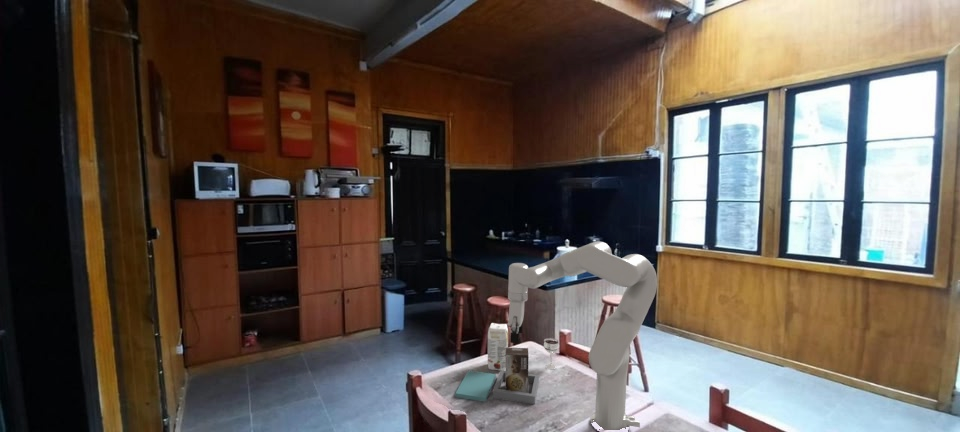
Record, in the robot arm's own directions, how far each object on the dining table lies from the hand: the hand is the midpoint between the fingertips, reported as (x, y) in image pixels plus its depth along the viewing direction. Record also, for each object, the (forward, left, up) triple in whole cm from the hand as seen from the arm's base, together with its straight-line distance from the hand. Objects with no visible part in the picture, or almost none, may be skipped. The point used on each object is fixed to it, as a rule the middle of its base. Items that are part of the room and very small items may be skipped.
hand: (516, 337), depth 150 cm
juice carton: (+11, -16, -22) cm, 29 cm away
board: (+16, +2, -21) cm, 27 cm away
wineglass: (-12, -22, -22) cm, 33 cm away
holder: (0, 0, -21) cm, 21 cm away
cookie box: (0, 0, -22) cm, 22 cm away
